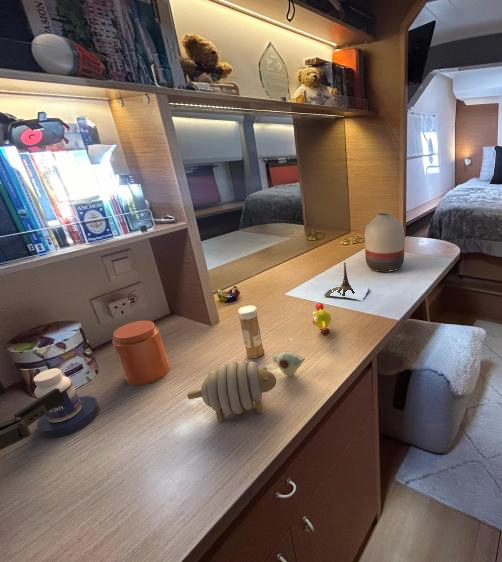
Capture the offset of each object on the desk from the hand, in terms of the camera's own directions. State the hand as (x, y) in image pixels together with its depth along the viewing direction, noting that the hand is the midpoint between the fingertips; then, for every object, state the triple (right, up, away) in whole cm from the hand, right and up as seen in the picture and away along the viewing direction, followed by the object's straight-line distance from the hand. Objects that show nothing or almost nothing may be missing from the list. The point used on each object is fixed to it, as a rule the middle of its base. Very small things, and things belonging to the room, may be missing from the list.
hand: (30, 389), depth 63 cm
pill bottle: (+1, -7, +6) cm, 9 cm away
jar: (+8, -3, +21) cm, 23 cm away
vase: (+68, +26, +86) cm, 113 cm away
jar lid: (+1, -7, +7) cm, 10 cm away
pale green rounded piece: (+43, -3, +19) cm, 47 cm away
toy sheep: (+35, -7, +9) cm, 37 cm away
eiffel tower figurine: (+54, +16, +62) cm, 83 cm away
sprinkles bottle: (+32, +1, +28) cm, 42 cm away
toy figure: (+48, +5, +38) cm, 62 cm away
